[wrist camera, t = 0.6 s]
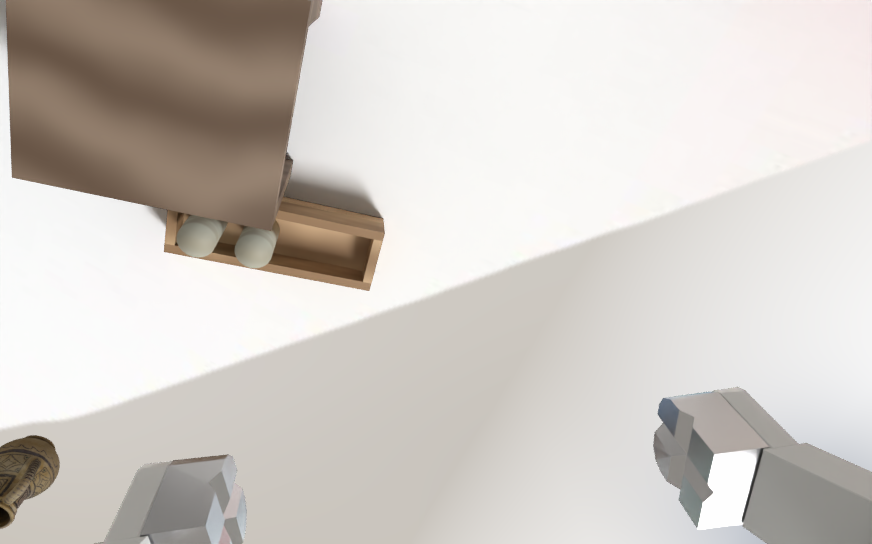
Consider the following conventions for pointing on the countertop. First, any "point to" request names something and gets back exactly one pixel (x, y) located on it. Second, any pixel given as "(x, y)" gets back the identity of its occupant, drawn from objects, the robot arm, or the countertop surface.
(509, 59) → the countertop surface
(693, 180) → the countertop surface
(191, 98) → the brown wooden side table
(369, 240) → the teak tray
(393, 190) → the countertop surface
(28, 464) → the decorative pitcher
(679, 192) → the countertop surface
